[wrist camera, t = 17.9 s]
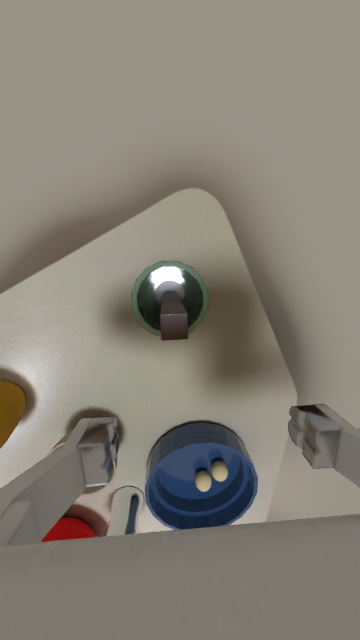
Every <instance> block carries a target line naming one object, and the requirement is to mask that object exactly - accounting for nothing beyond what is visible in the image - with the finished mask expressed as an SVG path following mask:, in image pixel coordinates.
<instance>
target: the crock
mask: <svg viewBox="0 0 360 640" xmlns="http://www.w3.org/2000/svg"><path fill="white" fill-rule="evenodd" d="M167 280H173V281H176V282H178V283H179V284H181V286H182V287H183V288H184V291H185V301H184V303H183V306H184V308H185V310H186V312H187V313H188V333H190V332H192V331H194V329H195V328H196V327H197V326H198V325H199V324H200V323H201V322H202V321H203V319H204V317H205V314H206V312H207V309H208V290H207V287H206V285H205V282H204V280H203V278H202V277H201V276H200V275H199V274H198V273H197V272H196V271H195V270H194V269H193V268H192V267H191V266H189V265H186V264H183V263H181V262H178V261H161V262H158V263H156V264H154V265H152V266H150V267H148V268H146V269H145V270H144V271H143V272H142V274H141V275H140V276H139V277H138V278H137V279H136V281H135V284H134V287H133V291H132V294H131V299H132V310H133V312H134V314H135V316H136V318H137V320H138V322H139V323H140V325H142V326H143V327H144V328H145V329H146V330H147V331H149V332H150V333H151V334H154V335H157V336H160V337H161V325H160V312H161V308H160V307H159V306H158V305H157V303H156V301H155V290H156V288H157V287H158V285H159V284H160V283H162V282H164V281H167Z"/></svg>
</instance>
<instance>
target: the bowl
mask: <svg viewBox="0 0 360 640" xmlns="http://www.w3.org/2000/svg"><path fill="white" fill-rule="evenodd" d="M216 461H221V462H223V463H224V464H225V465H226V466H227V469H228V476H227V478H226V479H225V480H224V481H217V480H216V479H215V478H214V477H213V475H212V472H211V468H212V465H213V463H214V462H216ZM200 471H206V472H207V473H208V474H209V475H210V477H211V487H210V489H209V490H208V491H205V492H202V491H200V490H199V489H198V488H197V486H196V483H195V478H196V475H197V473H198V472H200ZM257 486H258V477H257V474H256V471H255V468H254V465H253V463H252V461H251V459H250V457H249V454H248V452H247V450H246V448H245V446H244V444H243V442H242V441H241V440H240V439H239V438H238V437H237V435H236V434H235V433H233V432H231V431H230V430H228V429H226V428H224V427H223V426H220V425H215V424H210V423H194V424H188V425H185V426H182V427H179V428H177V429H174V430H172V431H171V432H169V433H168V434H167V435H165V436H164V437H163V438H161V439H160V440H159V442H158V443H157V444H156V446H155V447H154V448H153V450H152V451H151V454H150V458H149V461H148V464H147V473H146V482H145V497H146V504H147V506H148V508H149V510H150V511H151V513H152V515H153V516H154V517H155V518H156V519H157V520H158V521H159V522H161V523H162V524H163V525H164V526H167V527H169V528H171V529H174V530H183V529H194V528H206V527H217V526H228V525H230V524H231V523H233V522H234V521H236V520H237V519H239V518H240V517H242V515H243V514H244V513H245V512H246V511H247V510H248V509H249V508H250V507H251V505H252V503H253V500H254V498H255V496H256V494H257Z"/></svg>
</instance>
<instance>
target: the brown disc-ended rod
mask: <svg viewBox="0 0 360 640" xmlns="http://www.w3.org/2000/svg"><path fill="white" fill-rule="evenodd" d="M155 301H156V303H157V305H158V306H159V307H160V308H161V312H160V325H161V340H181V339H188V313H187V312H186V310H185V308H184V306H183V303H184V301H185V291H184V288H183V287H182V286H181V284H179V283H178V282H176V281H173V280H167V281H164V282H162V283H160V284H159V285H158V287H157V288H156V290H155Z"/></svg>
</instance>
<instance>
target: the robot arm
mask: <svg viewBox="0 0 360 640" xmlns="http://www.w3.org/2000/svg"><path fill="white" fill-rule="evenodd" d="M289 415H290V416H291V417H292V418H291V420H290V421H289V422H288V431H289V435H290V437H291V439H292V441H293V442H294V444H295V445H296V446H298V447H299V448H301V449H302V451H303V452H302V454H303V455H304V457H305V458H306V459H307V461H308V462H309V463H310V465H311V466H312V467H313V469H320V468H334V469H335V470H336V471H338V472H339V473H341V474H342V475H343V476H345V477H346V478H347V479H349V480H350V481H352V482H353V483H354V484H356V485H357V486H359V487H360V429H356V428H355V427H354V426H352V425H351V424H350V423H348V422H347V421H346V420H345V419H343V418H342V417H341V416H340V415H338V414H337V413H336V412H335V411H333V410H332V409H331V408H330V407H328V406H327V405H325V404H313V405H305V406H291V408H290V411H289ZM117 425H118V423H117V418H116V417H101V418H82V419H81V420H80V421H79V422H78V424H77V425H76V427H75V428H74V430H73V431H72V433H71V434H70V436H69V437H68V439H67V441H66V442H65V444H64V445H63V447H62V448H61V449H57V450H55V451H54V452H53V453H51V454H50V455H48V456H47V457H45V458H44V459H43V460H41V461H40V462H38V463H37V464H35V465H34V466H33V467H31V468H30V469H28V470H27V471H26V472H24V473H23V474H21V475H20V476H18V477H17V478H16V479H14V480H13V481H11V482H10V483H8V484H7V485H6V486H4V487H3V488H1V489H0V640H360V514H353V515H341V516H330V517H319V518H307V519H297V520H286V521H274V522H262V523H251V524H240V525H228V526H217V527H206V528H194V529H183V530H172V531H160V532H149V533H138V534H126V535H115V536H104V537H93V538H81V539H70V540H59V541H47V542H42V541H41V540H42V539H43V538H44V537H45V535H46V534H47V533H48V532H49V531H50V530H51V528H52V527H53V526H54V525H55V524H56V523H57V521H58V520H59V519H60V518H61V517H62V516H63V514H64V513H65V512H66V511H67V510H68V509H69V507H70V506H71V505H72V504H73V503H74V502H75V500H76V499H77V498H78V497H79V496H80V495H81V493H82V492H83V491H84V490H85V489H86V487H90V486H99V485H108V483H109V480H110V477H111V474H112V470H113V461H114V460H115V459H116V457H117V453H118V448H119V433H118V432H117V431H116V428H117Z"/></svg>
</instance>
